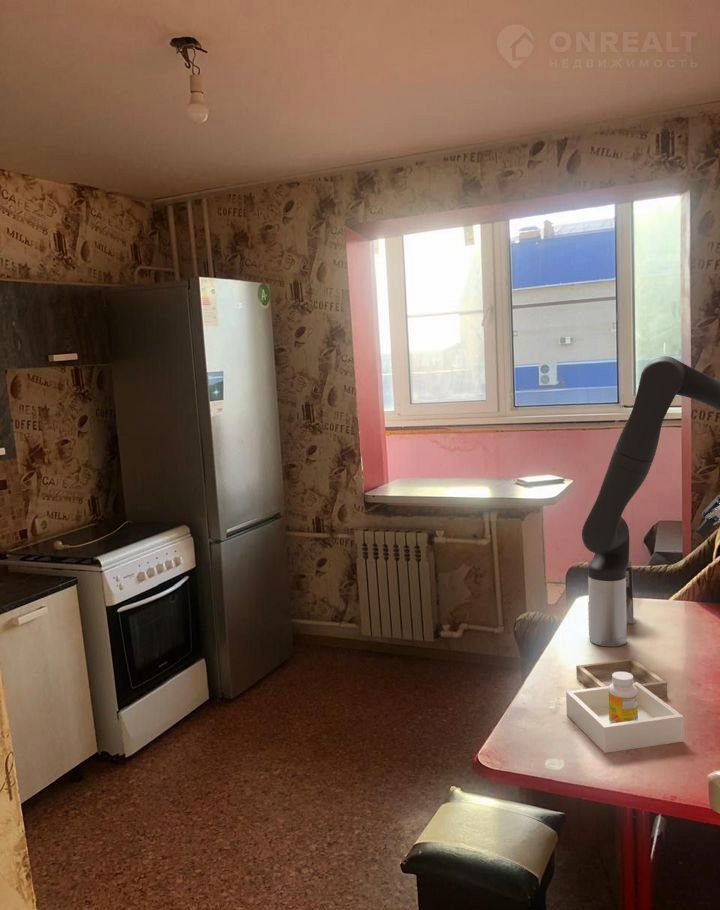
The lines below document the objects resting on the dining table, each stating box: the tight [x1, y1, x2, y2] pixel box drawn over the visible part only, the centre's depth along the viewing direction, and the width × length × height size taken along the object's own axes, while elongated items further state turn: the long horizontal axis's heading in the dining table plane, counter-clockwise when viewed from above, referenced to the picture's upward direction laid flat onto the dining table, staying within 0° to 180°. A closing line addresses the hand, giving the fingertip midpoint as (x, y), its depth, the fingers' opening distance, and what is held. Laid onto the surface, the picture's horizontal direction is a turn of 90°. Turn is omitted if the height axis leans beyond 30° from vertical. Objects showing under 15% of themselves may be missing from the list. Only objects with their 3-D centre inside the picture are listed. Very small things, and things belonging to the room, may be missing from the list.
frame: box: [575, 658, 668, 698], centre depth 164 cm, size 14×14×3 cm
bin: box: [565, 681, 684, 754], centre depth 145 cm, size 16×16×5 cm
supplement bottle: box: [608, 672, 638, 724], centre depth 145 cm, size 5×5×10 cm
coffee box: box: [626, 561, 635, 624], centre depth 206 cm, size 9×6×16 cm
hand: (711, 539), depth 159 cm, fingers open, 8 cm apart
